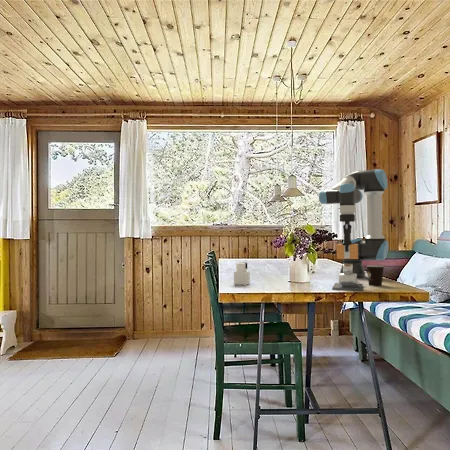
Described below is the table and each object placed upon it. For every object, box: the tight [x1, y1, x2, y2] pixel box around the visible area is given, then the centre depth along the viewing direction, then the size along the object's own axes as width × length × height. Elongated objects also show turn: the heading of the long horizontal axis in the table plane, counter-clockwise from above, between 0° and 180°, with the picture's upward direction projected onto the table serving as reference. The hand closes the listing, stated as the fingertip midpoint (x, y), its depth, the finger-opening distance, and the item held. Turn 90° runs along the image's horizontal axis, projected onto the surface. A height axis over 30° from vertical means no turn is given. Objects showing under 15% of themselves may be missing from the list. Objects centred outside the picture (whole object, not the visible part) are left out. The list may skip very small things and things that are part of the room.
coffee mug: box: [365, 264, 385, 287], centre depth 232 cm, size 12×9×10 cm
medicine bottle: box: [233, 261, 251, 286], centre depth 239 cm, size 7×7×12 cm
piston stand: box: [332, 263, 364, 292], centre depth 222 cm, size 18×14×12 cm
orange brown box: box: [336, 243, 358, 260], centre depth 222 cm, size 10×10×7 cm
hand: (347, 257), depth 222 cm, fingers closed on orange brown box, 10 cm apart
